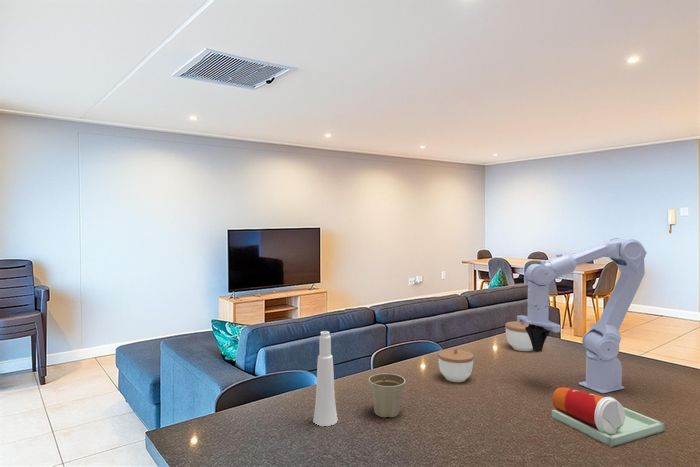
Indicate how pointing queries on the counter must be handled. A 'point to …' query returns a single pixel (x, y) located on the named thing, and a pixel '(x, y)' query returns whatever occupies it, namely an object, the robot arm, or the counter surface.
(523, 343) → the lidded bowl
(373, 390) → the flower pot
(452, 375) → the lidded jar
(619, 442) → the tray
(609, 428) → the coffee cup
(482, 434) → the counter surface
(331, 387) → the cosmetic bottle
